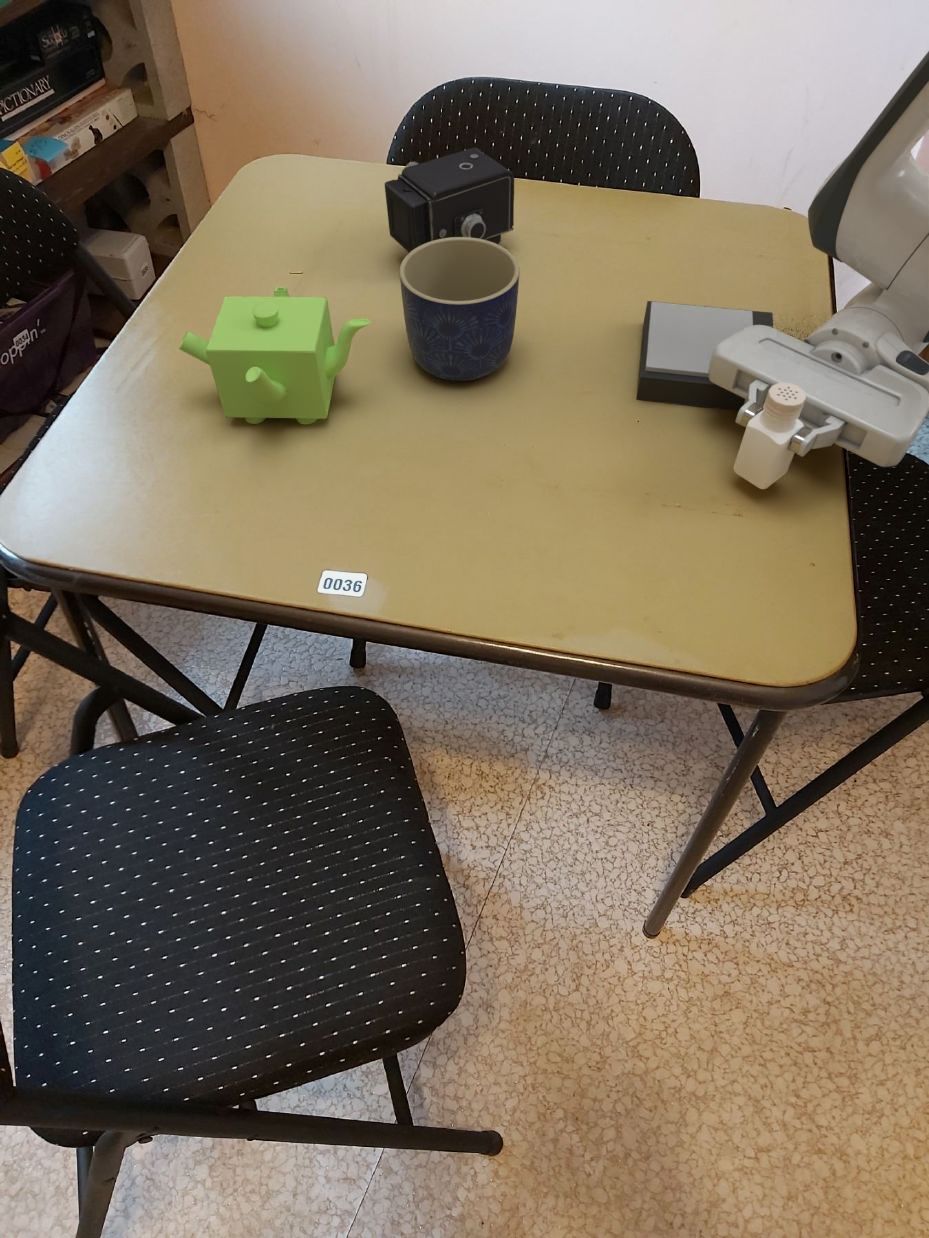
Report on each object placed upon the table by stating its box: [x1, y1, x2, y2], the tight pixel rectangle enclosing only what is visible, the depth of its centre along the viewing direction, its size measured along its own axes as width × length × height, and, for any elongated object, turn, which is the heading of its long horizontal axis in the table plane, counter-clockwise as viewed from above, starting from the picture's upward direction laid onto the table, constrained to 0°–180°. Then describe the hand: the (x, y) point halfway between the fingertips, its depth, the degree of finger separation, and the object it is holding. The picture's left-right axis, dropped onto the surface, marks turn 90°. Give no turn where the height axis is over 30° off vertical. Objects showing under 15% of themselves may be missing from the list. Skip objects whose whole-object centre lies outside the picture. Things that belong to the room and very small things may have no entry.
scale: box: [636, 300, 774, 412], centre depth 92 cm, size 14×14×4 cm
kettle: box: [178, 286, 372, 425], centre depth 86 cm, size 15×14×11 cm
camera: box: [384, 147, 515, 254], centre depth 103 cm, size 11×11×15 cm
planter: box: [398, 237, 521, 382], centre depth 90 cm, size 12×12×11 cm
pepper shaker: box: [733, 383, 806, 490], centre depth 77 cm, size 4×4×10 cm
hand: (770, 433), depth 76 cm, fingers closed on pepper shaker, 4 cm apart
